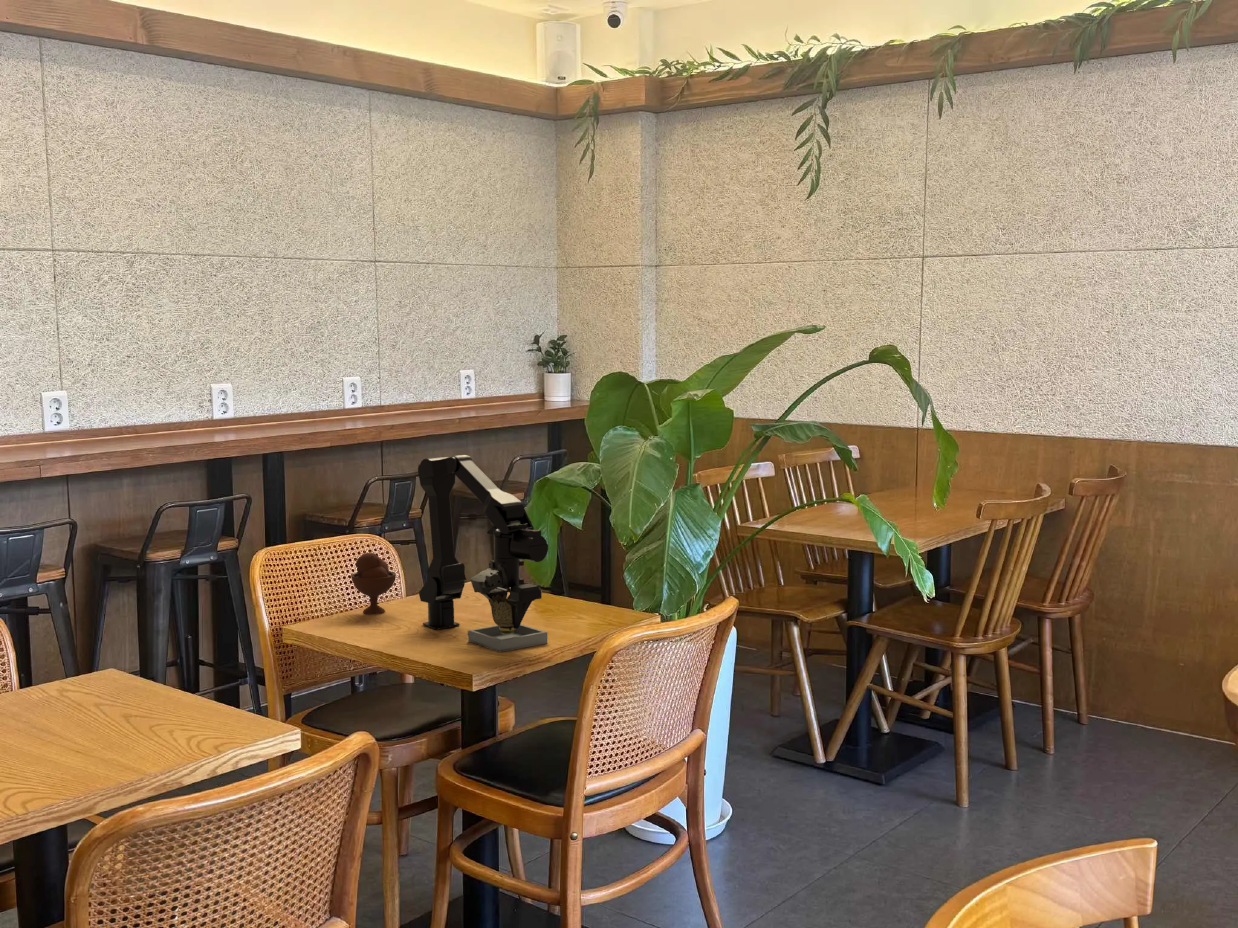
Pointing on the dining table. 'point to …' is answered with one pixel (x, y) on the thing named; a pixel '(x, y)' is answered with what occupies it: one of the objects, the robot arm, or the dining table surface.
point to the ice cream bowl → (372, 580)
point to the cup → (502, 614)
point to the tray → (507, 638)
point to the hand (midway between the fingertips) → (507, 625)
